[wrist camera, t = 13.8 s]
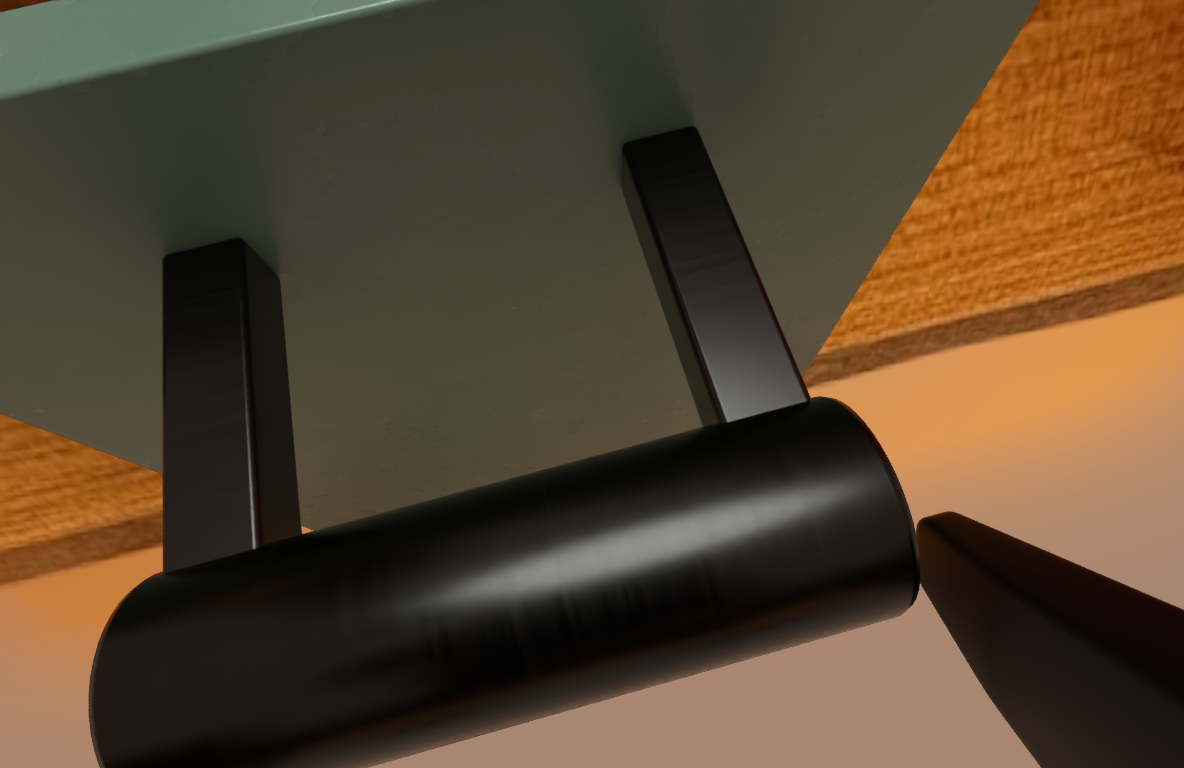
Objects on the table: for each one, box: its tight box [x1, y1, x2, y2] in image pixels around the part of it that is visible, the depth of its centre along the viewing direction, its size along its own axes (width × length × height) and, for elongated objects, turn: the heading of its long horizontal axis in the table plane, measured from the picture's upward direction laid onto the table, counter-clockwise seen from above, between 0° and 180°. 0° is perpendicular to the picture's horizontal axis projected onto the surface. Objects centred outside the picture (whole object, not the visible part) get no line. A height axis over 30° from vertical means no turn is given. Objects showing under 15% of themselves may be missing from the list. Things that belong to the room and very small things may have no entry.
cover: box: [0, 0, 1039, 768], centre depth 9 cm, size 12×11×5 cm
